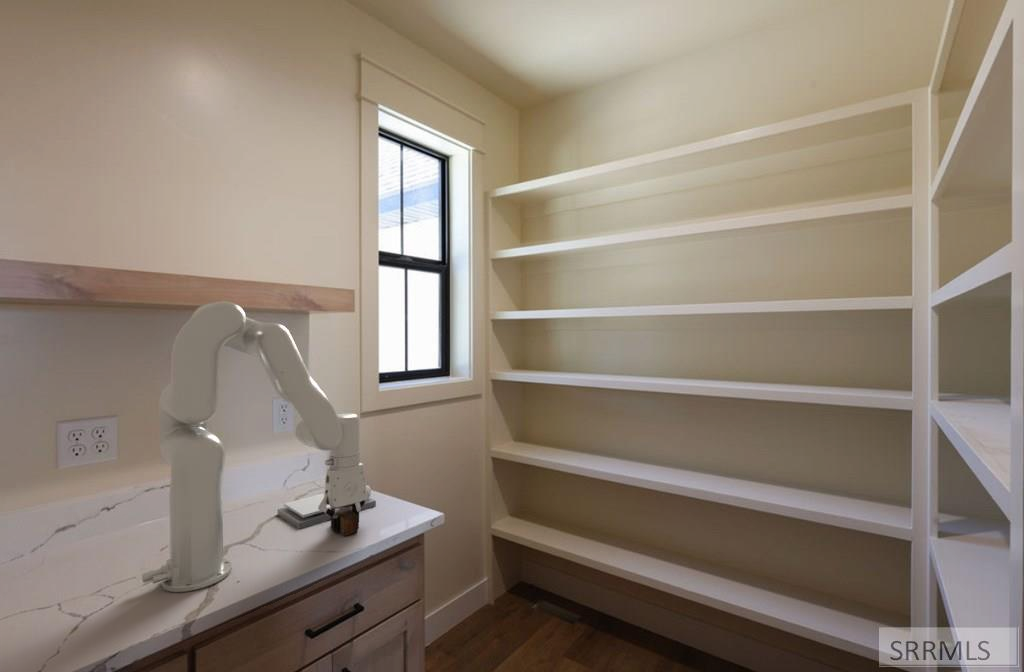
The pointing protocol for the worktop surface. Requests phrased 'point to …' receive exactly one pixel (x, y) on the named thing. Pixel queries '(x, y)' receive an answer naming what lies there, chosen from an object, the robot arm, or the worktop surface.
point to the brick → (348, 521)
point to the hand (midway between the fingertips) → (345, 528)
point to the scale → (312, 510)
